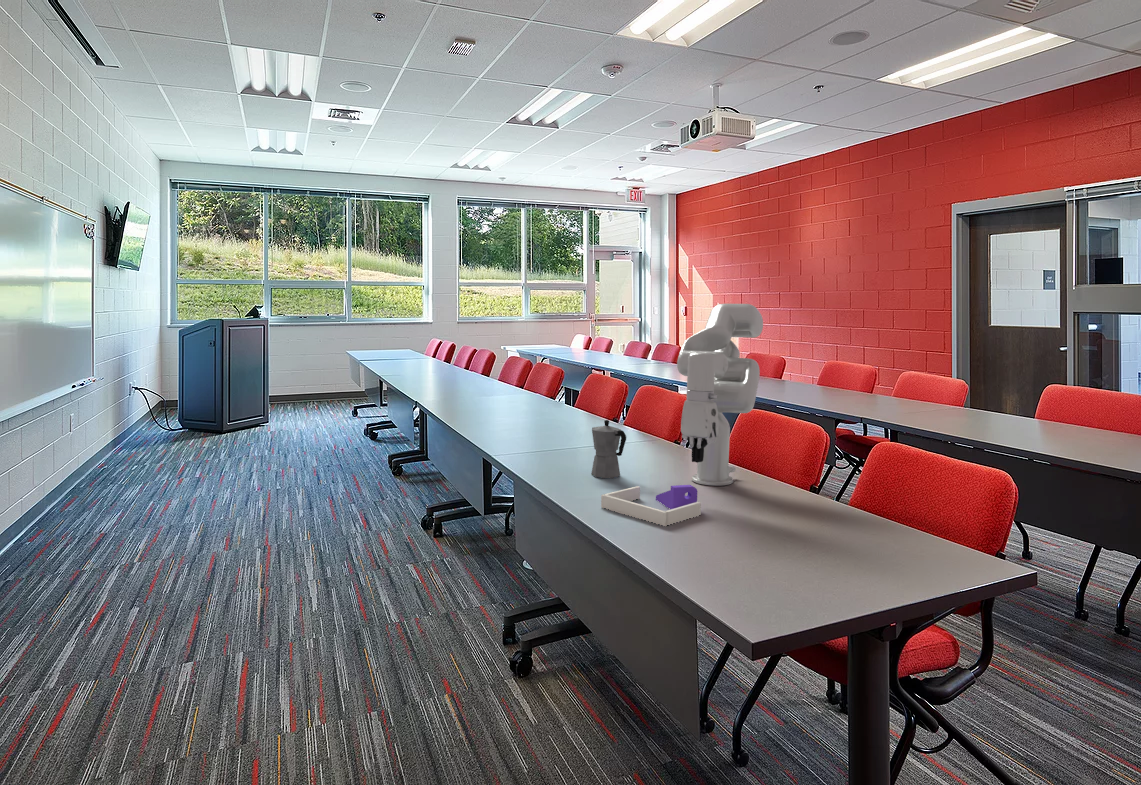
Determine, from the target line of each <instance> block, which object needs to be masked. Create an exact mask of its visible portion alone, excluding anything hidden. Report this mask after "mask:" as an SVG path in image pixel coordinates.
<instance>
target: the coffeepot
mask: <svg viewBox="0 0 1141 785" xmlns="http://www.w3.org/2000/svg"><path fill="white" fill-rule="evenodd" d="M603 424H604V425H601V426H593V427H592V428H591V432H592V433H591V434H592V442H593V449H594V450H595V455H594V459H593V462H592V469H591V475H592V474H593V475H594V476H596V477H595V478H597V477H602V478H601V479H605V478H610V479H615V478H614V477H617V478H619V477H618V476H621V473H620V472H621V471H620V464H619V458H618V457H621V456H622V455H623V451H624V447H625V445H626V441H627V435H626V433H625V431H624V430H622V429H621V428H619V427H616V426H615V427H614V426H611V425H610V420H609V419H605V420H604V423H603ZM617 451H618V452H617ZM594 476H593V477H594Z"/></svg>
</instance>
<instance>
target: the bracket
mask: <svg viewBox="0 0 1141 785" xmlns="http://www.w3.org/2000/svg"><path fill="white" fill-rule="evenodd" d="M686 494H687V495H686ZM657 500H658V501H659V502H658V501H657ZM655 501H657V502H658V503H660V502H661V503H662V504H661V503H660V504H661V505H663V504H664V505H665V506H664V505H663V506H664V507H666V508H667V507H668V508H670V509H674V508H678V507H681V506H685V505H688V504H692V503H695V502H698V489H697V488H696V487H694V485H692V484H681V485H680V484H678V485H670V490H666V491H665V492H662V493H659V494H657V495H655ZM668 508H667V509H668ZM670 509H669V510H670Z"/></svg>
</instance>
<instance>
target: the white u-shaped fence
mask: <svg viewBox="0 0 1141 785" xmlns="http://www.w3.org/2000/svg"><path fill="white" fill-rule="evenodd" d="M600 496H601V497H600V498H601V500H600V502H601V503H600V504H601V505H600V507H602V509H604V508H606V509H605V510H608V509H609V510H608V511H612V512H614V511H615V512H614V513H619V514H621V515H624V514H625V515H624V516H628V515H629V516H628V517H631V516H632V517H631V518H634V517H635V519H638V518H639V520H641V519H643V520H642V521H644V520H646V521H645V522H648V521H649V522H648V523H651V522H653V523H652V524H654V523H656V524H655V525H658V524H660V525H659V526H661V525H663V526H662V527H664V526H665V527H668V526H667V525H669V526H671V525H670V524H672V525H674V524H673V523H675V524H677V523H676V522H678V523H680V522H679V521H681V522H683V521H682V520H685V519H688V520H690V519H689V518H691V519H694V518H697V517H700V516H699V515H701V514H702V513H701V511H702V510H701V508H702V502H701V501H697V502H695V503H692V504H688V505H685V506H681V507H678V508H674V509H671V510H670V509H668V510H661V509H658V508H655V507H650V506H648V505H645V504H641V503H636V502H633V500H634V501H637V500H636V499H638V500H640V499H641V486H639V485H637V486H633V487H629V488H623V489H620V490H615V491H612V492H607V493H603V494H601V495H600ZM696 516H697V517H696ZM693 517H694V518H693ZM685 521H686V520H685Z"/></svg>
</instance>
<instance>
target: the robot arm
mask: <svg viewBox="0 0 1141 785" xmlns="http://www.w3.org/2000/svg"><path fill="white" fill-rule="evenodd" d="M763 320H764V319H763V315H762V314H761V312H760V311H759V310H758V308H757V307H756V306H755V305H753V304H750V303H720V304H717V305H715V306H714V307H713V308H712V310H711V312H710V314H709V317H708V320H707V321H706V323H705V324H706V325H705V326H704V329H701V330H700V331H698V332H697V333H695V334H693V335H691V336H689V337H688V338H687V339H685V341H684V342H683V344H682V346H681V348H680V350H679V354H678V357H677V361H676V366H677V370H678V373H679V374H680V375H681V376H684V377H686V380H687V382H686V400H684V402H683V407H682V413H681V420H680V432H681V434H682V435H681V438H682V439H684V440H686V441H687V442H688V443H689V447H690V448H691V462H692V463H696V464H697V465H696V466H697V467H696V473H695V474H693V475H692V476H691V480H692V482H694V483H696V484H699V485H705V486H712V487H713V486H714V487H715V486H718V487H719V486H720V487H721V486H728V485H729V486H730V485H731V484H733V482H734V478H733V477H732V476H730V473H734V472H736V467H735V465H730V466H729V460H730V458H729V457H730V436H731V435H730V434H731V427H730V423H729V421H728V419H727V418H726V417H725V415H724V414H723V413H729V414H730V413H734V414H748V413H750V412H751V411H752V410H753V409H754V406H755V402H756V399H757V393H758V387H759V382H760V376H761V375H760V372H761V371H760V366H759V363H758V362H757V361H756V360H755V359H753V358H748V357H747V358H746V357H744V358H743V357H740V356H741V352H740V349H739V348H738V346H737V345H736V344H735V343H734V341H732V338H742V339H743V338H747V339H748V338H749V339H750V338H751V339H753V338H754V339H755V338H759V337H760V335H761V333H762V332H763V329H764V321H763Z"/></svg>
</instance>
